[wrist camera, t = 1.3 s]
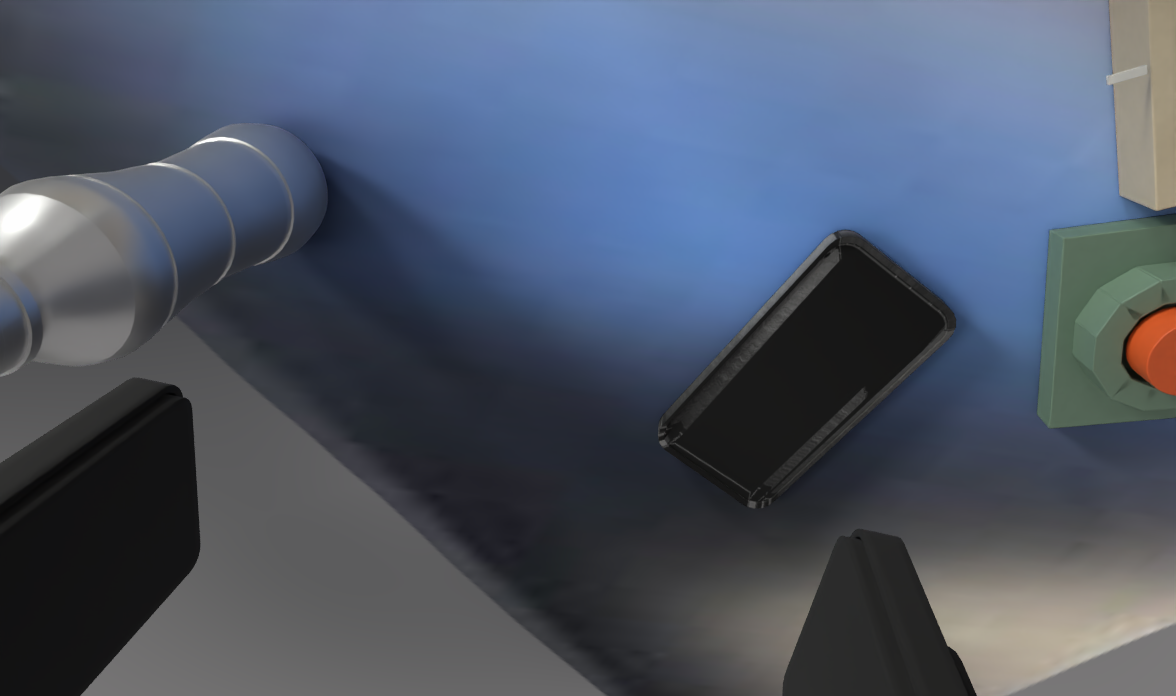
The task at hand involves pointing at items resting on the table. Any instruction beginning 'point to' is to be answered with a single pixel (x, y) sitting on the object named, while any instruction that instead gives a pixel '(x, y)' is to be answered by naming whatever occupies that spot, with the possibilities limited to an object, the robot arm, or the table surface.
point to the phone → (805, 370)
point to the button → (1155, 350)
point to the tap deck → (1145, 99)
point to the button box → (1103, 320)
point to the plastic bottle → (146, 241)
